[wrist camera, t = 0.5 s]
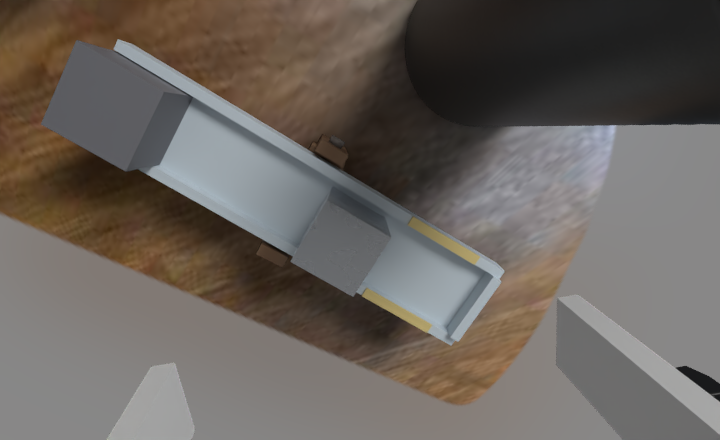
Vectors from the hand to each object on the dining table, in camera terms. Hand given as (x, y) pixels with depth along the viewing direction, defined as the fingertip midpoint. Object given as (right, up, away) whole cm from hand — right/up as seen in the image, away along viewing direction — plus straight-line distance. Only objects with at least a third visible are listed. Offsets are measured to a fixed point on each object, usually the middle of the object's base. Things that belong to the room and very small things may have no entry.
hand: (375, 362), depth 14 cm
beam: (-5, +7, +21) cm, 22 cm away
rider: (-2, +4, +20) cm, 20 cm away
